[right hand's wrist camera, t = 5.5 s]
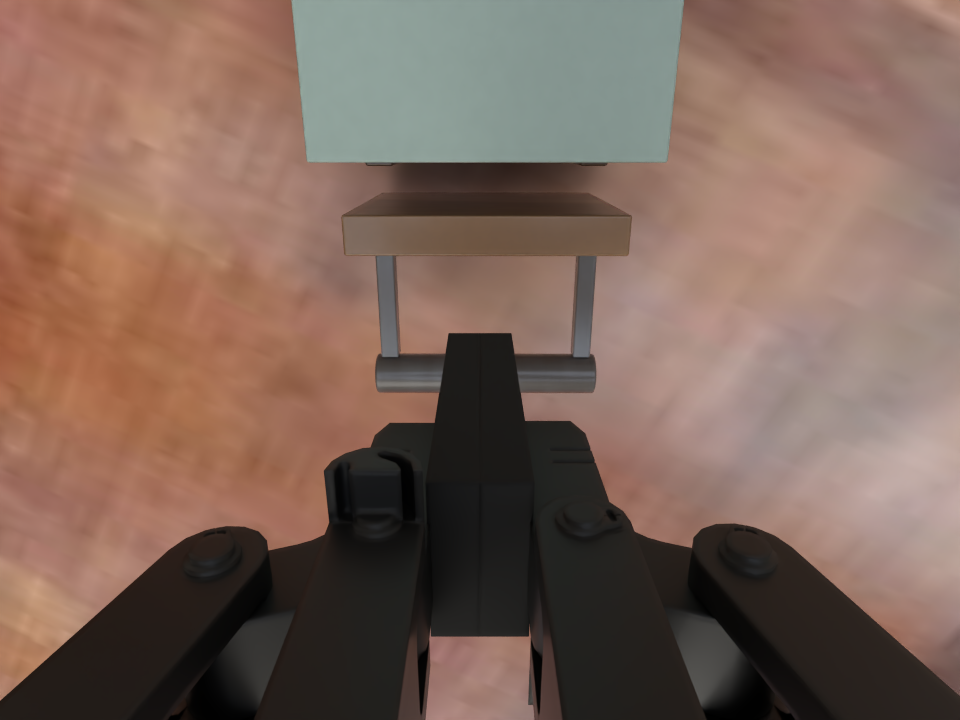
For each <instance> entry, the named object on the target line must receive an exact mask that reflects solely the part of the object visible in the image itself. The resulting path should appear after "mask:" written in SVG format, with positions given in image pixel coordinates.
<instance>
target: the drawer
mask: <svg viewBox="0 0 960 720" xmlns="http://www.w3.org/2000/svg"><path fill="white" fill-rule="evenodd" d="M395 164H398V163H366V165H368V166H392V165H395ZM575 164H579V165H582V166H605V165H607V163H575ZM341 218H342V231H343V244H344V254H345V255H346V256H376V270H377V287H378V303H379V319H380V336H381V352H382V354H378V356H377V359H376V367H375V380H376V387H377V390H378V392H380V393H439V392H440V386H441V380H442V373H443V367H444V360H445V354H400V351H401V349H400V328H399V308H398V288H397V267H396V256H576V268H575V285H574V303H573V321H572V339H571V353H572V354H515V360H516V367H517V373H518V380H519V386H520V392H521V393H592V392H594V389H595V385H596V362H595V358H594V355H593V354H590V346H591V331H592V316H593V302H594V287H595V272H596V257H597V256H627V255H628V254H629V245H630V233H631V221H632V216H631V215H629V214H627V213H625V212H623V211H621V210H619V209H618V208H616V207H614V206H612V205H610V204H608V203H606V202H604V201H603V200H601V199H599V198H597V197H595V196H593V195H591V194H589V193H382V194H380V195H378V196H376V197H375V198H373V199H371V200H369V201H367V202H366V203H364V204H362V205H360V206H358V207H357V208H355V209H353V210H351V211H349V212H348V213H346V214H344V215H342V217H341Z"/></svg>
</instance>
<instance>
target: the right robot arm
mask: <svg viewBox="0 0 960 720" xmlns="http://www.w3.org/2000/svg"><path fill="white" fill-rule="evenodd" d="M324 477H325V486H326V495H327V505H328V514H329V525H328V527H327V530H326V533H325V535H323V536H321V537H318V538H316V539H314V540H312V541H308V542H305V543H301V544H298V545H293V546H288V547H284V548H279V549H274V550H269V551H268V545H267V540H266V539H265V538H264V537H263V536H262V535H261V534H260V533H259V532H258V531H255V530H252V529H249V528H246V527H233V526H225V527H219V528H213V529H209V530H205V531H203V532H200V533H198V534H195V535H193V536H191V537H188V538H186V539H184V540H183V541H181V542H180V543H178V544H177V545H176V546H174V547H173V548H171V549H170V550H168V551H167V552H166V553H165V554H164V555H163V556H162V557H161V558H160V559H158V560H157V561H156V562H155V563H154V564H153V565H152V566H151V567H149V568H148V569H147V570H146V571H145V572H144V573H143V574H142V575H140V576H139V577H138V578H137V579H136V580H135V581H134V582H133V583H132V584H130V585H129V586H128V587H127V588H126V589H125V590H124V591H123V592H121V593H120V594H119V595H118V596H117V597H116V598H115V599H114V600H113V601H111V602H110V603H109V604H108V605H107V606H106V607H105V608H104V609H102V610H101V611H100V612H99V613H98V614H97V615H96V616H95V617H94V618H92V619H91V620H90V621H89V622H88V623H87V624H86V625H85V626H83V627H82V628H81V629H80V630H79V631H78V632H77V633H76V634H74V635H73V636H72V637H71V638H70V639H69V640H68V641H67V642H66V643H64V644H63V645H62V646H61V647H60V648H59V649H58V650H57V651H55V652H54V653H53V654H52V655H51V656H50V657H49V658H48V659H47V660H45V661H44V662H43V663H42V664H41V665H40V666H39V667H38V668H36V669H35V670H34V671H33V672H32V673H31V674H30V675H29V676H28V677H26V678H25V679H24V680H23V681H22V682H21V683H20V684H19V685H17V686H16V687H15V688H14V689H13V690H12V691H11V692H10V693H8V694H7V695H6V696H5V697H4V698H3V699H2V700H1V701H0V720H425V718H426V707H427V696H428V685H429V674H430V648H429V636H430V626H431V636H529V623H530V633H531V648H530V674H529V699H528V705H533V706H534V718H535V720H960V696H959V695H958V694H957V693H955V692H954V691H953V690H952V689H951V688H950V687H949V686H948V685H946V684H945V683H944V682H943V681H942V680H941V679H940V678H939V677H937V676H936V675H935V674H934V673H933V672H932V671H931V670H930V669H928V668H927V667H926V666H925V665H924V664H923V663H922V662H920V661H919V660H918V659H917V658H916V657H915V656H914V655H913V654H911V653H910V652H909V651H908V650H907V649H906V648H905V647H904V646H902V645H901V644H900V643H899V642H898V641H897V640H896V639H895V638H893V637H892V636H891V635H890V634H889V633H888V632H887V631H886V630H884V629H883V628H882V627H881V626H880V625H879V624H878V623H877V622H875V621H874V620H873V619H872V618H871V617H870V616H869V615H867V614H866V613H865V612H864V611H863V610H862V609H861V608H860V607H858V606H857V605H856V604H855V603H854V602H853V601H852V600H851V599H849V598H848V597H847V596H846V595H845V594H844V593H843V592H842V591H840V590H839V589H838V588H837V587H836V586H835V585H834V584H833V583H831V582H830V581H829V580H828V579H827V578H826V577H825V576H824V575H822V574H821V573H820V572H819V571H818V570H817V569H816V568H814V567H813V566H812V565H811V564H810V563H809V562H808V561H807V560H805V559H804V558H803V557H802V556H801V555H800V554H799V553H798V552H796V551H795V550H794V549H793V548H792V547H791V546H789V545H788V544H786V543H785V542H783V541H782V540H780V539H779V538H777V537H776V536H774V535H772V534H769V533H767V532H764V531H762V530H760V529H757V528H754V527H750V526H744V525H739V524H715V525H712V526H709V527H706V528H703V529H701V530H700V531H699V533H698V534H697V535H696V536H695V537H694V538H693V545H692V548H689V547H684V546H679V545H674V544H670V543H665V542H661V541H657V540H654V539H650V538H647V537H645V536H643V535H641V534H638V533H636V532H634V529H633V527H632V524H631V522H630V520H629V519H628V517H627V516H626V515H625V513H624V512H623V511H622V510H621V509H619V508H618V507H616V506H615V505H613V504H612V503H610V502H609V500H608V497H607V494H606V491H605V488H604V486H603V483H602V480H601V477H600V474H599V471H598V468H597V466H596V463H595V460H594V457H593V454H592V451H590V446H589V443H588V440H587V437H586V434H585V433H584V432H583V431H582V430H580V429H579V428H578V427H577V426H576V425H574V424H573V423H572V422H571V421H525V418H524V412H523V405H522V399H521V392H520V386H519V380H518V373H517V367H516V360H515V354H514V348H513V341H512V335H511V333H449V335H448V341H447V348H446V354H445V360H444V367H443V373H442V380H441V386H440V392H439V399H438V405H437V412H436V418H435V423H389V424H388V425H387V426H386V427H384V428H383V429H382V430H381V431H380V432H378V433H377V434H376V435H375V437H374V439H373V442H372V445H371V448H362V449H359V450H355V451H352V452H348V453H345V454H344V455H342V456H340V457H338V458H337V459H335V460H333V461H332V462H331V463H330V464H329V465H328V466H327V468H326V469H325V470H324Z"/></svg>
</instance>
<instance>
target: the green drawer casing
mask: <svg viewBox="0 0 960 720" xmlns="http://www.w3.org/2000/svg"><path fill="white" fill-rule="evenodd" d="M291 2H292V12H293V22H294V33H295V43H296V54H297V64H298V75H299V85H300V96H301V106H302V116H303V127H304V137H305V148H306V158H307V162H309V163H665V162H667V160H668V151H669V141H670V132H671V122H672V112H673V103H674V93H675V84H676V74H677V64H678V55H679V45H680V35H681V26H682V16H683V6H684V0H291Z"/></svg>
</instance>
